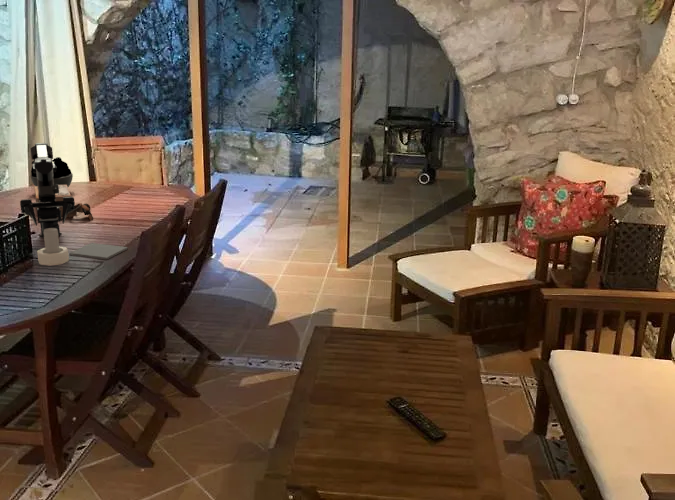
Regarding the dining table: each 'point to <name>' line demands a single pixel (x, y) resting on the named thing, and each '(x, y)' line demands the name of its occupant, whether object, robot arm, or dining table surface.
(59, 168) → the coal bowl
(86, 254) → the rubber mat
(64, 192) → the tissue box cover
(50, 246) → the beverage can
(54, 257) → the holder ring
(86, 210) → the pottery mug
